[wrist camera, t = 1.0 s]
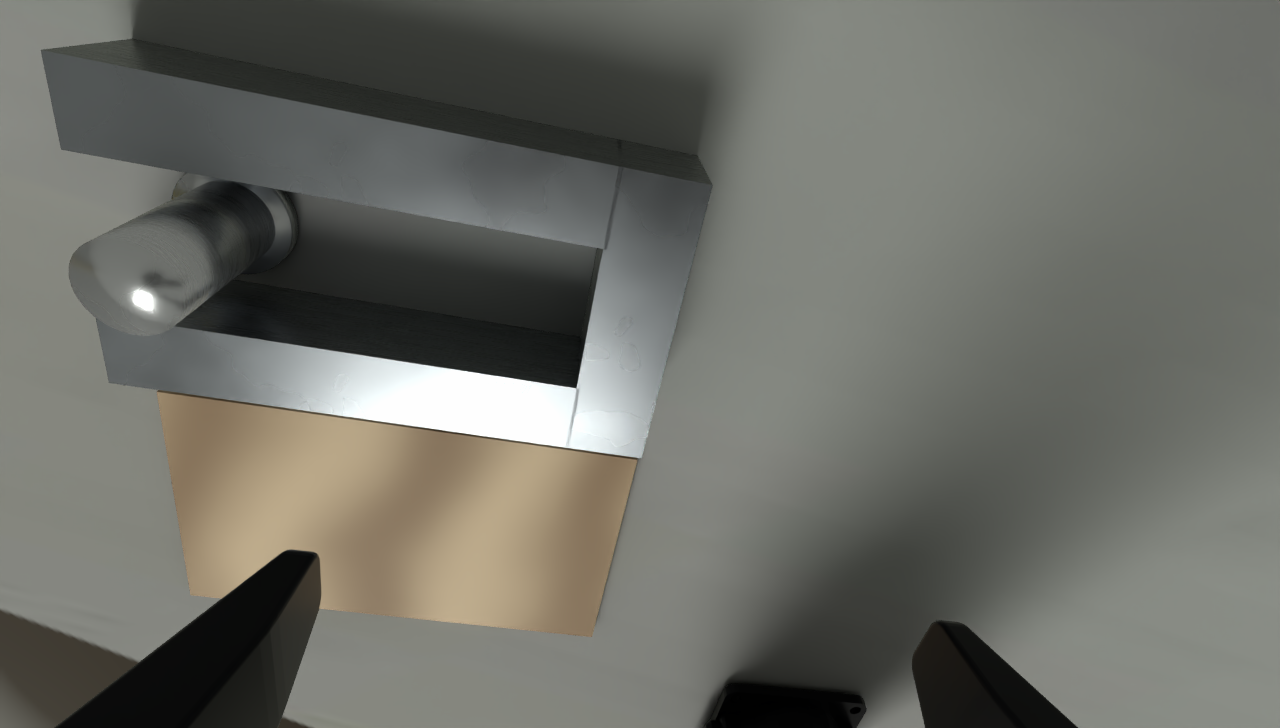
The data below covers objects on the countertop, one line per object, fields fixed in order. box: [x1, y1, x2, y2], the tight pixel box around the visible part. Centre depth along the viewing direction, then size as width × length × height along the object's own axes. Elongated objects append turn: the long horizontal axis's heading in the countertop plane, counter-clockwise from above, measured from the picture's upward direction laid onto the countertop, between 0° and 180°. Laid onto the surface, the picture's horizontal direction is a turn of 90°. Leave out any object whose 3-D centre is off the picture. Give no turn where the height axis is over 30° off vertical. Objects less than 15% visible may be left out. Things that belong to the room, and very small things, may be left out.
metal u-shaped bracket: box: [41, 39, 712, 458], centre depth 18 cm, size 14×8×3 cm, turn 78°
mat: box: [157, 390, 637, 637], centre depth 24 cm, size 15×9×1 cm, turn 78°
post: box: [69, 173, 298, 336], centre depth 16 cm, size 3×3×5 cm
